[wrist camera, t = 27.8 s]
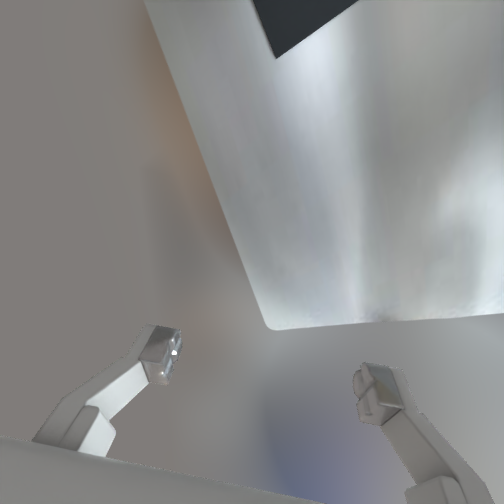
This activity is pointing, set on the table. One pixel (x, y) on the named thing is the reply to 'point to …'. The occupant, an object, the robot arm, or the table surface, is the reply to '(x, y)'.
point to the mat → (296, 19)
